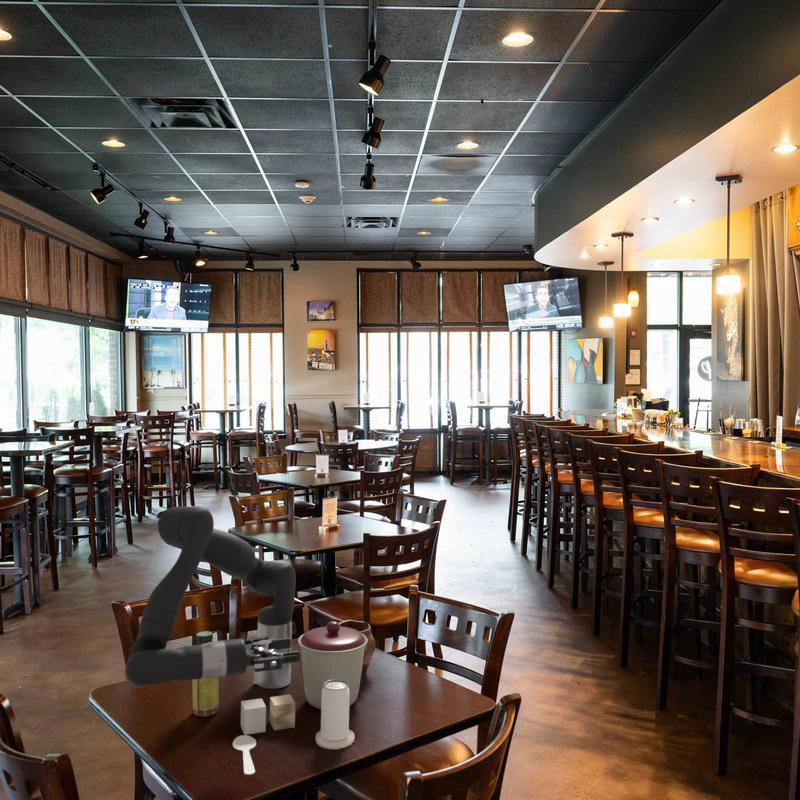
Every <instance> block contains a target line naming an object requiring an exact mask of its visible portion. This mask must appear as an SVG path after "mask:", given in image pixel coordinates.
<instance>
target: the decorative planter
mask: <svg viewBox="0 0 800 800" xmlns="http://www.w3.org/2000/svg"><path fill="white" fill-rule="evenodd" d="M338 623H339V625H340V627H347V628H351V629H354V630H357V631H359V632H360V633H362V634H364V635H365V636H366V637H367V639H368V642H367V644H366V645H365V649H364V657H363V665H362V672H361V676H363V675H365V674H367V671H368V668H369V666H370V663H371V660H372V657H373V654H374V652H375V649H376V641H375V638H374V636H373V634H372V628H371V625H370V624H369V623H368V622H366V621H362V620H360V621H358V620H354V619H353V620H352V619H346V620H342V621H340V622H338Z"/></svg>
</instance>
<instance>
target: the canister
mask: <svg viewBox="0 0 800 800" xmlns="http://www.w3.org/2000/svg"><path fill="white" fill-rule="evenodd" d="M339 623H340V622H337V621H333V620H331V621H329V622H328V623H327V624H326V626H320V627H316V628H313V629H311V630H308V631H306V632H305V633H303V634H302V635H300V636H299V637H298V638H297V644H298V646H299V647H300V659H301V668H302V678H303V680H302V681H303V689H304V695H305V698H306V701H307V702H308V704H309V705H310V706H311V707H313V708H316V709H318V710H321V698H322V689H323V687H324V683H325V682H327V681H330V680H343V681H345V682H347V683H348V688H349V707H351V705H353V704H354V703H355V702H356V700H357V699H358V696H359V692H360V691H359V690H360V684H361V677H362V675H361V672H362V665H363V657H364V649H365V645H366V644H367V642H368V639H367V637H366V636H365V635H364V634H362V633H360V632H359V631H357V630H354V629H351V628H347V627H340V625H339Z"/></svg>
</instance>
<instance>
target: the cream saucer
mask: <svg viewBox="0 0 800 800" xmlns="http://www.w3.org/2000/svg"><path fill="white" fill-rule="evenodd" d="M354 739H355V733H354V732H353V730H351V729H349V733H348V736H347V738H346V739H344V740H342V741H337V742H331V741H327V740H325V739H323V738H322V736H321V729H320V730H319V731H317V732H316V734H315V743H316V744H317V746H318V747H320V748H323V749H326V750H342V749H341V748H343V749H346V748H348V746H349V747H350V745H351V746H352V745H353V744H354V743H353V742H355V740H354ZM352 743H353V744H352ZM345 747H346V748H345Z"/></svg>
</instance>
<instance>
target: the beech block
mask: <svg viewBox="0 0 800 800" xmlns="http://www.w3.org/2000/svg"><path fill="white" fill-rule="evenodd" d="M269 723H270V725H271V727H272V730H273V731H279V730H284V729H285V730H286V729H291V728H295V726H296V702H295V699H294V698H293V696H292V695H291V694H284V695H277V696H276V695H275V696H271V697H269Z"/></svg>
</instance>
